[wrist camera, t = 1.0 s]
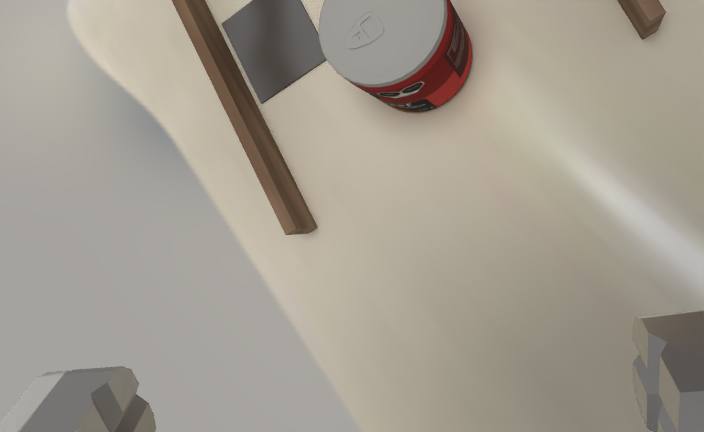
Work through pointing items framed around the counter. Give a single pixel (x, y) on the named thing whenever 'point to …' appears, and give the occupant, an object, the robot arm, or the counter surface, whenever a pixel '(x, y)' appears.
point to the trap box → (286, 78)
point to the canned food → (397, 49)
